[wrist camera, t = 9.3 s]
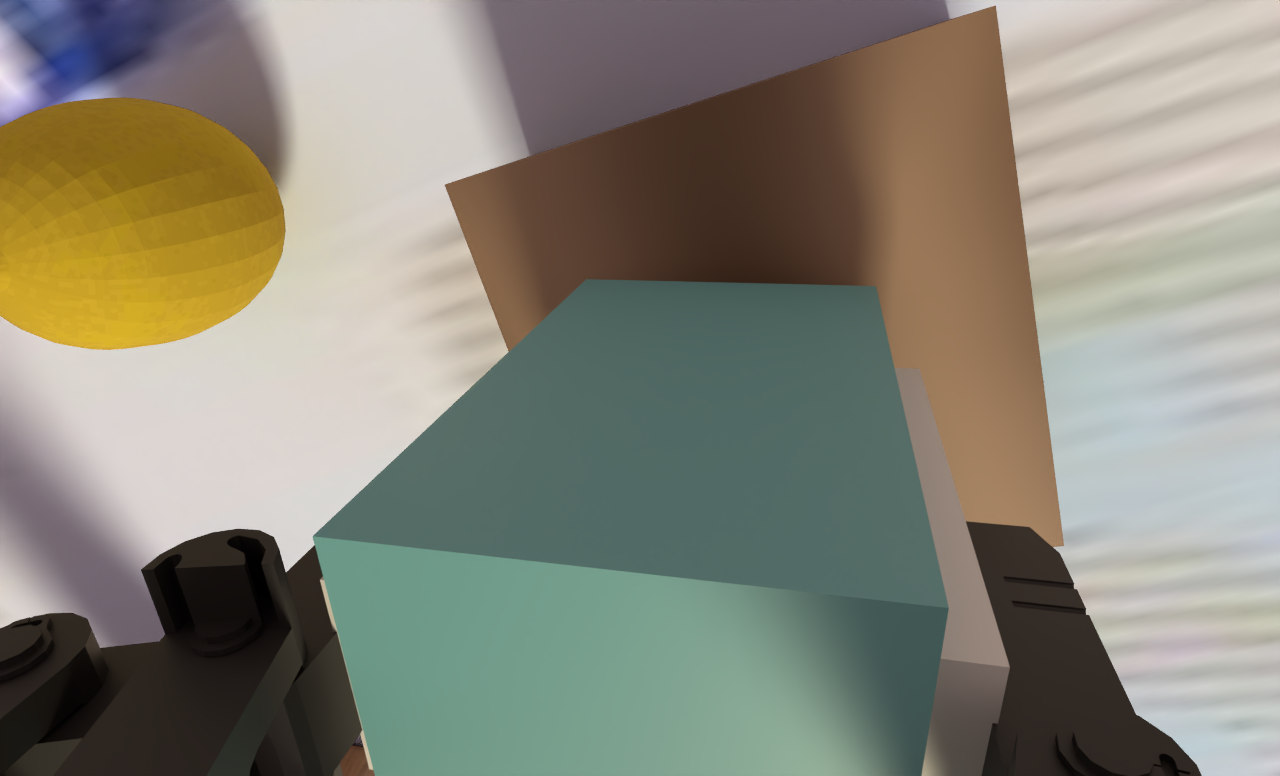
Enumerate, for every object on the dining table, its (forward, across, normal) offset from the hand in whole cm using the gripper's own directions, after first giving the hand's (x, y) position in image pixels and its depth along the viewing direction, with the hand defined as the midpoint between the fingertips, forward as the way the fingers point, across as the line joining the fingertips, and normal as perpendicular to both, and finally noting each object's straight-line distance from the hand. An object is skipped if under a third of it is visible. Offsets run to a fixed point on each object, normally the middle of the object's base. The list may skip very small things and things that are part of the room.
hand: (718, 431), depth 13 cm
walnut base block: (+7, 0, 0) cm, 7 cm away
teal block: (+1, 0, 0) cm, 1 cm away
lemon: (+7, -14, +3) cm, 16 cm away
